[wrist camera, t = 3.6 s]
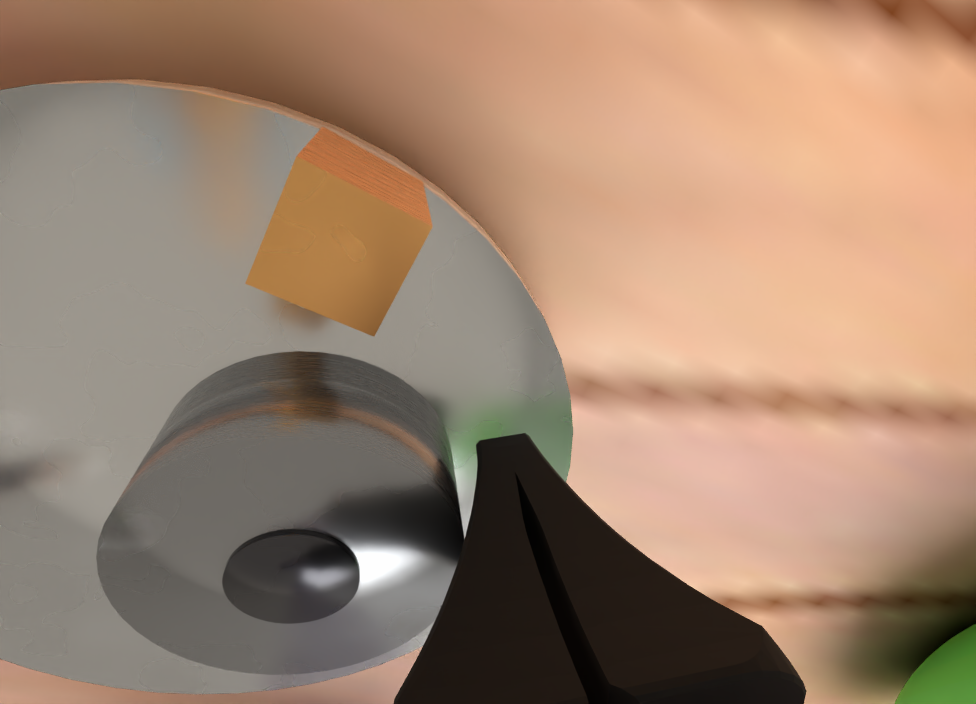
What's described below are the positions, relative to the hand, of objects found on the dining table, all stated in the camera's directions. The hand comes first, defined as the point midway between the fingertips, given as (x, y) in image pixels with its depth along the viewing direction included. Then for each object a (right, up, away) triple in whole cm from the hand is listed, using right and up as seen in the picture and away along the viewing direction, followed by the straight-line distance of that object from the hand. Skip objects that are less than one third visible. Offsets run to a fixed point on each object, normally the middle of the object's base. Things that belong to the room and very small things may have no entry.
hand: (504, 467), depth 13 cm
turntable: (-7, 0, +1) cm, 7 cm away
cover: (-5, 0, 0) cm, 5 cm away
